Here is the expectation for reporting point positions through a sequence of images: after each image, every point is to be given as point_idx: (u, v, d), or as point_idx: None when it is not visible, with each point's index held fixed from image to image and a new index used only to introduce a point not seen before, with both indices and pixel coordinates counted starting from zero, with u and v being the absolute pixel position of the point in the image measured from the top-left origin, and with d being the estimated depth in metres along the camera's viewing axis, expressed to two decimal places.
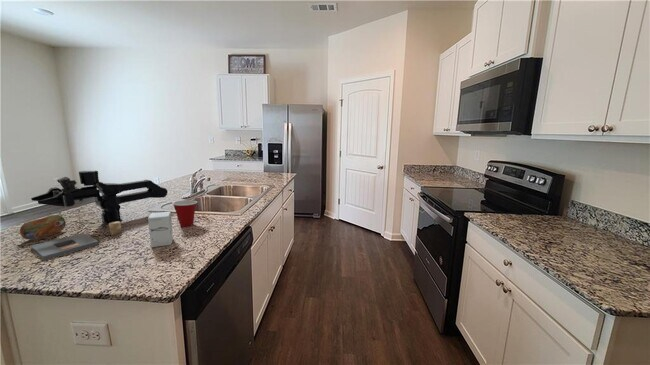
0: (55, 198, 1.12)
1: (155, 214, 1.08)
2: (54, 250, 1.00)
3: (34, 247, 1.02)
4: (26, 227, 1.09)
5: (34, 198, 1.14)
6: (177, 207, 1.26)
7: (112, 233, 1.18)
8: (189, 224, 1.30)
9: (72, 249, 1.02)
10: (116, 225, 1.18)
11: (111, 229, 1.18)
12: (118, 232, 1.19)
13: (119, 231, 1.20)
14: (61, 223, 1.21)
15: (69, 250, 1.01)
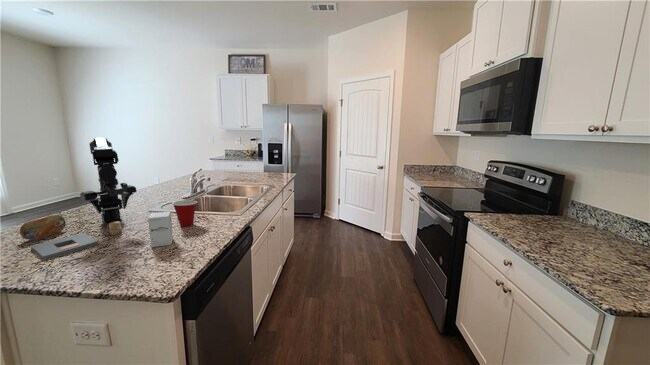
0: None
1: (155, 214, 1.08)
2: (54, 250, 1.00)
3: (34, 247, 1.02)
4: (26, 227, 1.09)
5: None
6: (177, 207, 1.26)
7: (112, 233, 1.18)
8: (189, 224, 1.30)
9: (72, 249, 1.02)
10: (116, 225, 1.18)
11: (111, 229, 1.18)
12: (118, 232, 1.19)
13: (119, 231, 1.20)
14: (61, 223, 1.21)
15: (69, 250, 1.01)
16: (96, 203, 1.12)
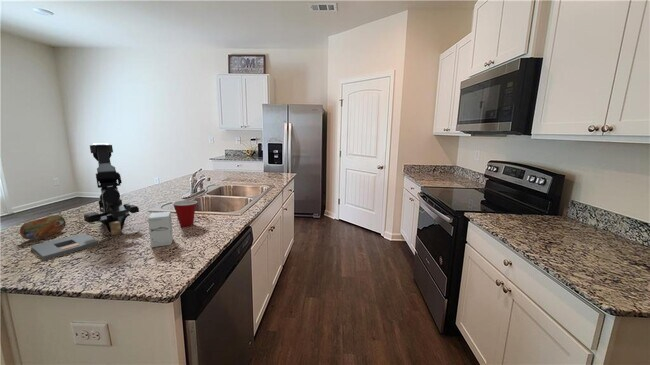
0: None
1: (155, 214, 1.08)
2: (54, 250, 1.00)
3: (34, 247, 1.02)
4: (26, 227, 1.09)
5: None
6: (177, 207, 1.26)
7: (112, 233, 1.18)
8: (189, 224, 1.30)
9: (72, 249, 1.02)
10: (116, 225, 1.18)
11: (111, 229, 1.18)
12: (118, 232, 1.19)
13: (119, 231, 1.20)
14: (61, 223, 1.21)
15: (69, 250, 1.01)
16: (106, 223, 1.16)
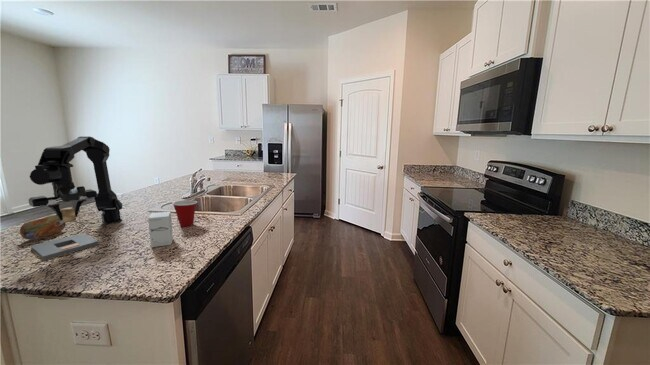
0: None
1: (155, 214, 1.08)
2: (54, 250, 1.00)
3: (34, 247, 1.02)
4: (26, 227, 1.09)
5: (61, 217, 1.04)
6: (177, 207, 1.26)
7: (64, 220, 1.04)
8: (189, 224, 1.30)
9: (72, 249, 1.02)
10: (69, 211, 1.04)
11: (63, 215, 1.03)
12: (71, 219, 1.05)
13: (73, 218, 1.05)
14: (61, 223, 1.21)
15: (69, 250, 1.01)
16: (56, 208, 1.01)
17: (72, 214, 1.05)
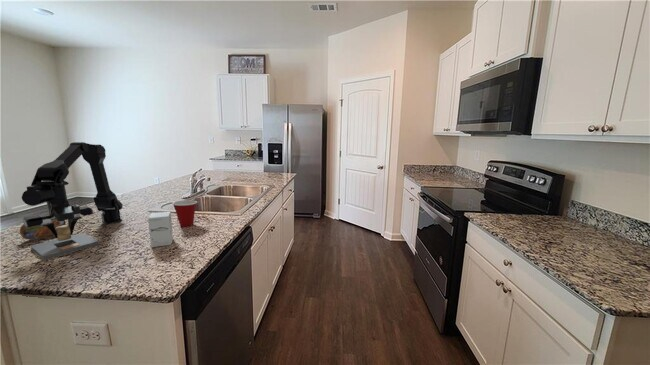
0: None
1: (155, 214, 1.08)
2: (54, 250, 1.00)
3: (34, 247, 1.02)
4: (26, 227, 1.09)
5: (56, 236, 1.03)
6: (177, 207, 1.26)
7: (59, 238, 1.03)
8: (189, 224, 1.30)
9: (72, 249, 1.02)
10: (64, 229, 1.03)
11: (58, 234, 1.03)
12: (66, 237, 1.05)
13: (68, 236, 1.05)
14: (61, 223, 1.21)
15: (69, 250, 1.01)
16: (51, 227, 1.01)
17: (67, 232, 1.05)
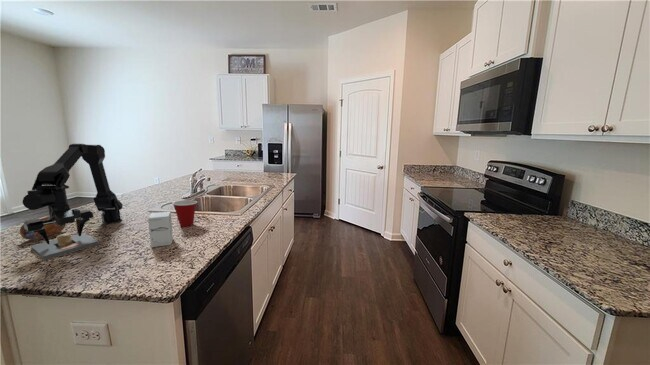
0: None
1: (155, 214, 1.08)
2: (54, 250, 1.00)
3: (34, 247, 1.02)
4: None
5: (48, 241, 1.02)
6: (177, 207, 1.26)
7: None
8: (189, 224, 1.30)
9: (72, 249, 1.02)
10: (65, 238, 1.04)
11: (59, 242, 1.04)
12: None
13: (69, 244, 1.06)
14: None
15: (69, 250, 1.01)
16: (43, 233, 0.99)
17: (68, 240, 1.05)
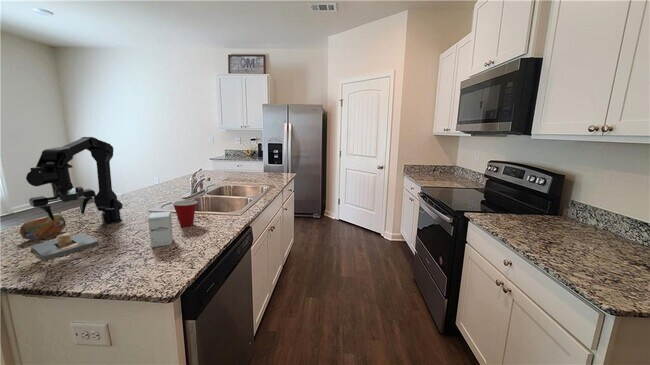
0: None
1: (155, 214, 1.08)
2: (54, 250, 1.00)
3: (34, 247, 1.02)
4: (26, 227, 1.09)
5: (53, 218, 1.06)
6: (177, 207, 1.26)
7: None
8: (189, 224, 1.30)
9: (72, 249, 1.02)
10: (65, 238, 1.04)
11: (59, 242, 1.04)
12: None
13: (69, 244, 1.06)
14: (61, 223, 1.21)
15: (69, 250, 1.01)
16: (48, 209, 1.03)
17: (68, 240, 1.05)
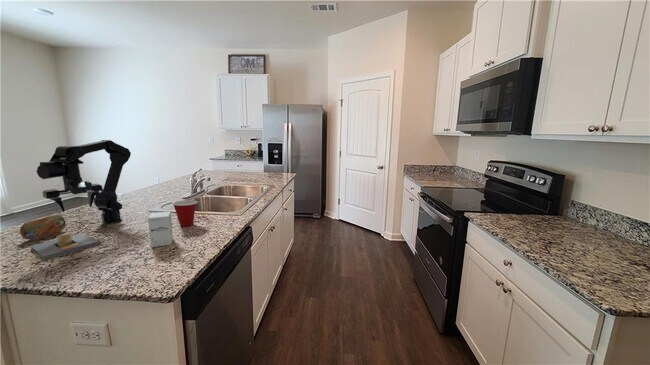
0: None
1: (155, 214, 1.08)
2: (54, 250, 1.00)
3: (34, 247, 1.02)
4: (26, 227, 1.09)
5: (63, 210, 1.15)
6: (177, 207, 1.26)
7: None
8: (189, 224, 1.30)
9: (72, 249, 1.02)
10: (65, 238, 1.04)
11: (59, 242, 1.03)
12: None
13: (69, 244, 1.06)
14: (61, 223, 1.21)
15: (69, 250, 1.01)
16: (59, 201, 1.12)
17: (68, 241, 1.05)
